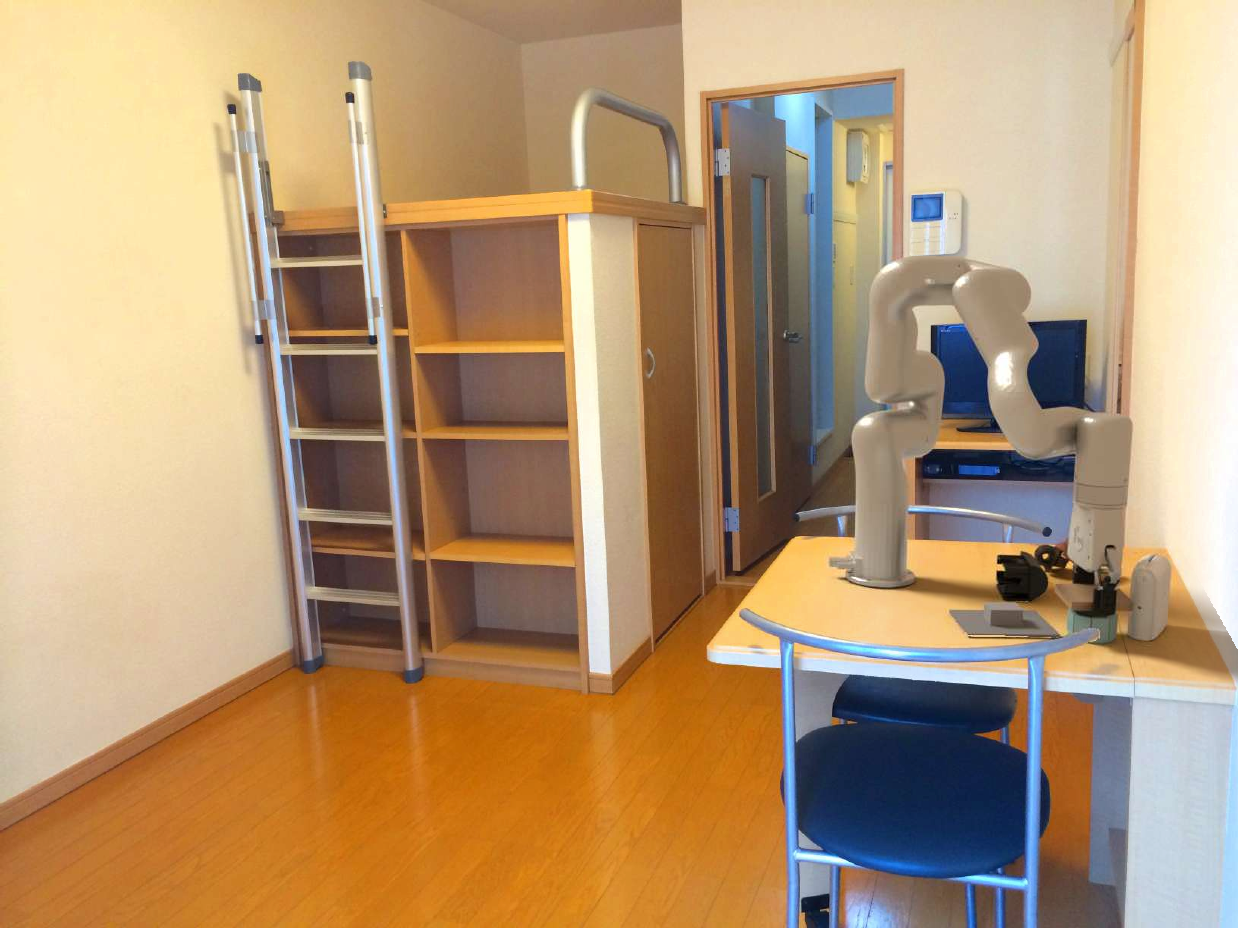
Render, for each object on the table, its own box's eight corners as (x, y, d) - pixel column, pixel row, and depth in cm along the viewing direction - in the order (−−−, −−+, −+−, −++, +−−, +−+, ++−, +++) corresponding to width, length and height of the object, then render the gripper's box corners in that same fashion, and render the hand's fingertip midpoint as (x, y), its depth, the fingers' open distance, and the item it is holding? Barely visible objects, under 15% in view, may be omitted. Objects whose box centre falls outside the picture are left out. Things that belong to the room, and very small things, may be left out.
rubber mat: (967, 637, 159) (968, 617, 158) (949, 612, 170) (949, 594, 170) (1060, 638, 157) (1061, 618, 157) (1035, 613, 169) (1036, 595, 169)
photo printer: (1154, 643, 155) (1160, 565, 152) (1123, 637, 157) (1129, 560, 155) (1170, 625, 162) (1176, 550, 160) (1140, 620, 165) (1146, 546, 163)
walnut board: (1071, 610, 154) (1072, 601, 154) (1054, 591, 161) (1055, 583, 161) (1132, 611, 153) (1133, 602, 153) (1113, 592, 160) (1114, 584, 160)
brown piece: (1075, 568, 197) (1098, 537, 192) (1092, 602, 190) (1116, 571, 185) (1018, 555, 196) (1039, 523, 191) (1033, 589, 188) (1055, 557, 183)
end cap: (1047, 604, 174) (1049, 566, 173) (1004, 602, 176) (1005, 564, 175) (1036, 587, 184) (1038, 551, 183) (995, 585, 186) (997, 549, 184)
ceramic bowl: (1076, 643, 155) (1078, 618, 154) (1061, 629, 162) (1063, 605, 161) (1121, 644, 155) (1123, 618, 154) (1104, 629, 161) (1106, 605, 160)
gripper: (1055, 483, 163) (1048, 588, 166) (1096, 506, 146) (1088, 623, 149) (1103, 483, 162) (1096, 589, 165) (1150, 506, 145) (1141, 624, 148)
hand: (1092, 604), depth 157 cm, fingers open, 7 cm apart
